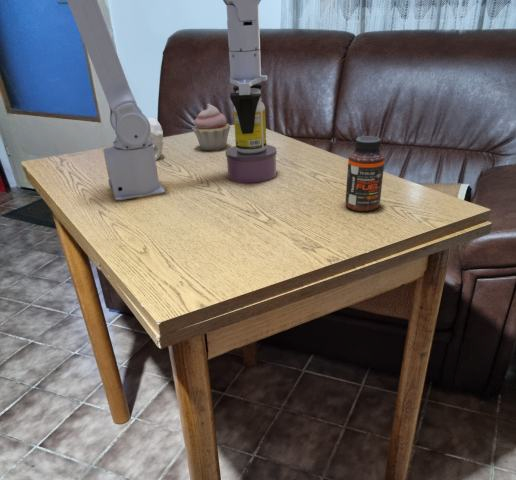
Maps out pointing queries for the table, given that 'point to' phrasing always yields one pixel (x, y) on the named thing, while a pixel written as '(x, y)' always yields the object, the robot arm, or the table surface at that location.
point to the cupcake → (211, 129)
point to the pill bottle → (258, 138)
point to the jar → (251, 165)
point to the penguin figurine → (156, 136)
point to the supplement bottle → (365, 174)
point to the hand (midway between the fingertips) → (248, 128)
